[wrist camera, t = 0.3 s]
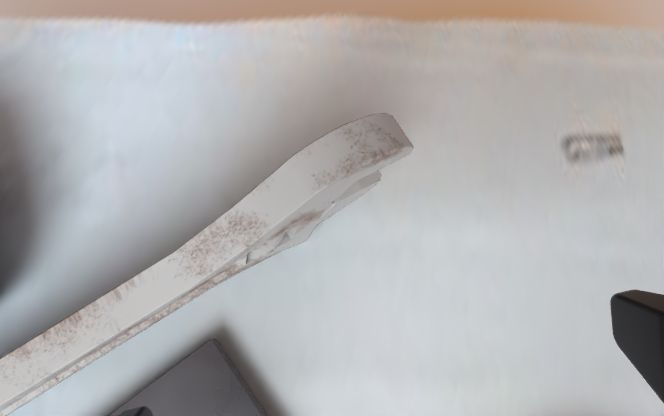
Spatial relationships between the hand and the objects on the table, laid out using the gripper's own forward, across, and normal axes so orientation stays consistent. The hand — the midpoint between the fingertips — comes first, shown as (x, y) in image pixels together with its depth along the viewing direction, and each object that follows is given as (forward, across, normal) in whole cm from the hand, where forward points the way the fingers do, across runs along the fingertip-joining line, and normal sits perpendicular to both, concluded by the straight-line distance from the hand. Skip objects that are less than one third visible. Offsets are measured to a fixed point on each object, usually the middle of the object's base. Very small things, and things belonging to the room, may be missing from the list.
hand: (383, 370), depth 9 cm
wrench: (+14, +11, +4) cm, 18 cm away
